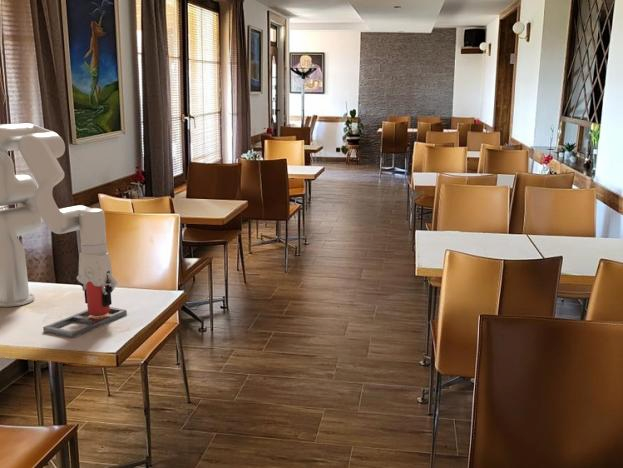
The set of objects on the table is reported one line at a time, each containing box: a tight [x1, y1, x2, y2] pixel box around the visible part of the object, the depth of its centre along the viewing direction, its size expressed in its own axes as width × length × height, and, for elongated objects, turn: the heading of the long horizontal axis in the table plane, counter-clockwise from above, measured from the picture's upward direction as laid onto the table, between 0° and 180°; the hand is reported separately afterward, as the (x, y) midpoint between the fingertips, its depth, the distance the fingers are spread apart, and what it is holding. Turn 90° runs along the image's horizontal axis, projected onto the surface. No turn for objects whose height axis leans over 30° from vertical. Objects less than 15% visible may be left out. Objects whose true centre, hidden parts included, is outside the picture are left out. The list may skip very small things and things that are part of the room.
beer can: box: [86, 281, 111, 316], centre depth 198 cm, size 7×7×12 cm
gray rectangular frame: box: [42, 306, 128, 339], centre depth 194 cm, size 12×23×2 cm, turn 154°
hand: (98, 303), depth 199 cm, fingers closed on beer can, 6 cm apart
